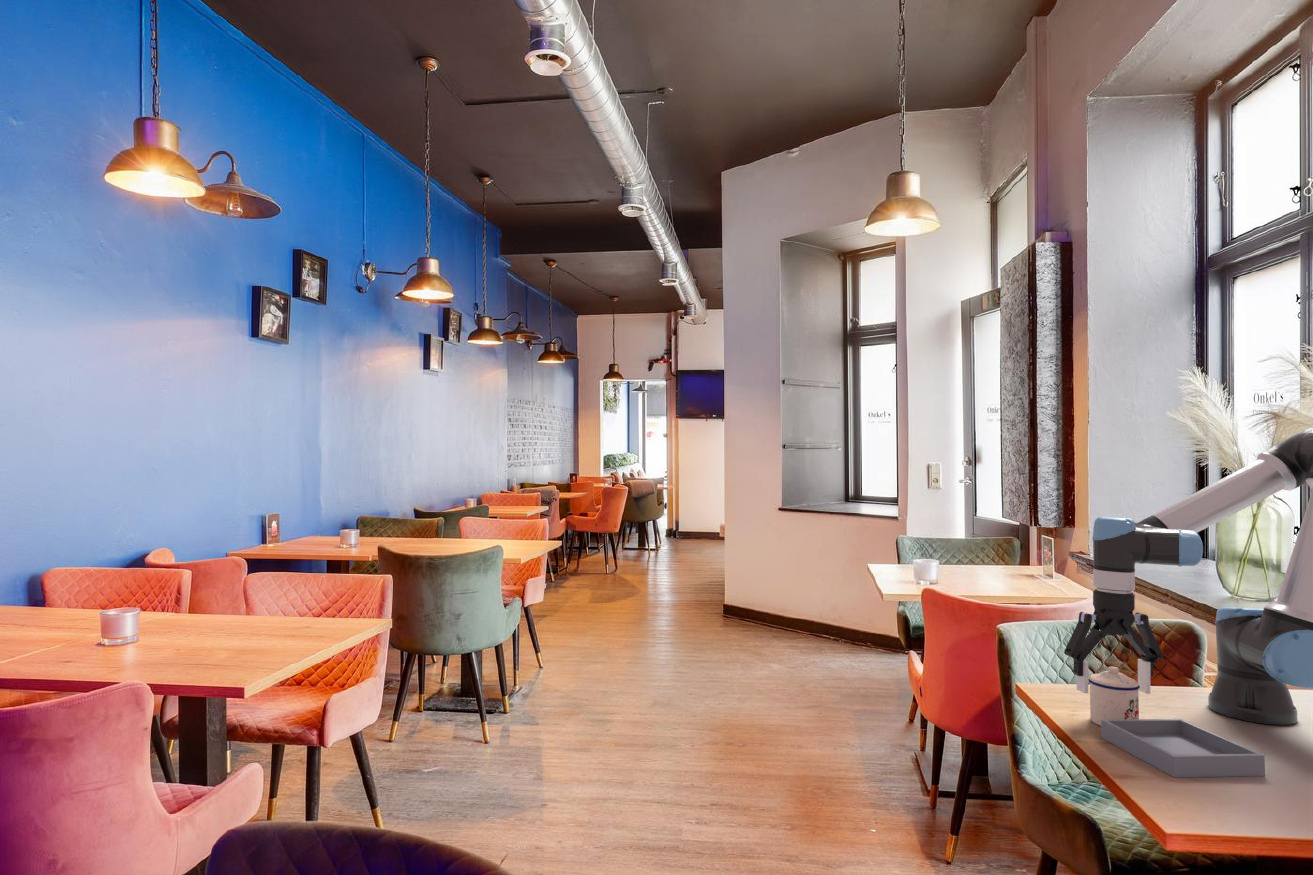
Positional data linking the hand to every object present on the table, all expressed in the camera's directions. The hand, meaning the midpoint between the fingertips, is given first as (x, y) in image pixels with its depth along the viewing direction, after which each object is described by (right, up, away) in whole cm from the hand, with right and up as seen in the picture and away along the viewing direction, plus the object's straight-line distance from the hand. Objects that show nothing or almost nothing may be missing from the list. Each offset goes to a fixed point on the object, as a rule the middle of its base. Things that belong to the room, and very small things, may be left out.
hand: (1113, 691), depth 154 cm
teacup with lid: (0, -7, 0) cm, 7 cm away
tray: (0, -5, -18) cm, 19 cm away
